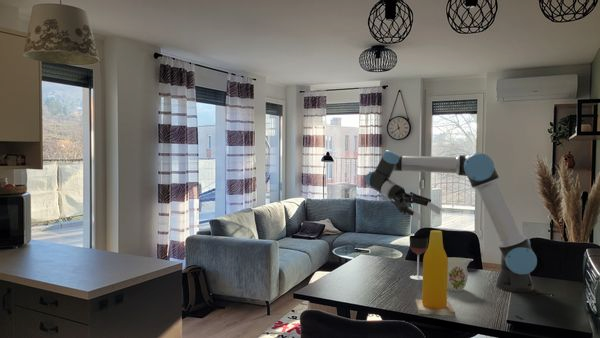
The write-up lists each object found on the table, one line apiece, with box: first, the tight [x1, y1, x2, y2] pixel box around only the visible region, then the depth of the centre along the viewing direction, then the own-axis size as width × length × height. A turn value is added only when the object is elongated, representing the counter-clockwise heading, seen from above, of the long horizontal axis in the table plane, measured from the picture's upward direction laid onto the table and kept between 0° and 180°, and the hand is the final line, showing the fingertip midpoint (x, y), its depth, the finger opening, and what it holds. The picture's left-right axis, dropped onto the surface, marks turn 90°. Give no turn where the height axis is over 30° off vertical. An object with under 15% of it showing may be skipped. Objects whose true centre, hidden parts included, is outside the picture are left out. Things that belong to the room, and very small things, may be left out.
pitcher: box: [447, 256, 474, 292], centre depth 193 cm, size 11×18×14 cm, turn 86°
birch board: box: [415, 298, 456, 317], centre depth 167 cm, size 13×12×2 cm
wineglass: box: [409, 235, 429, 281], centre depth 211 cm, size 8×9×20 cm
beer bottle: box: [421, 229, 448, 309], centre depth 167 cm, size 9×9×29 cm
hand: (430, 214), depth 182 cm, fingers open, 13 cm apart
